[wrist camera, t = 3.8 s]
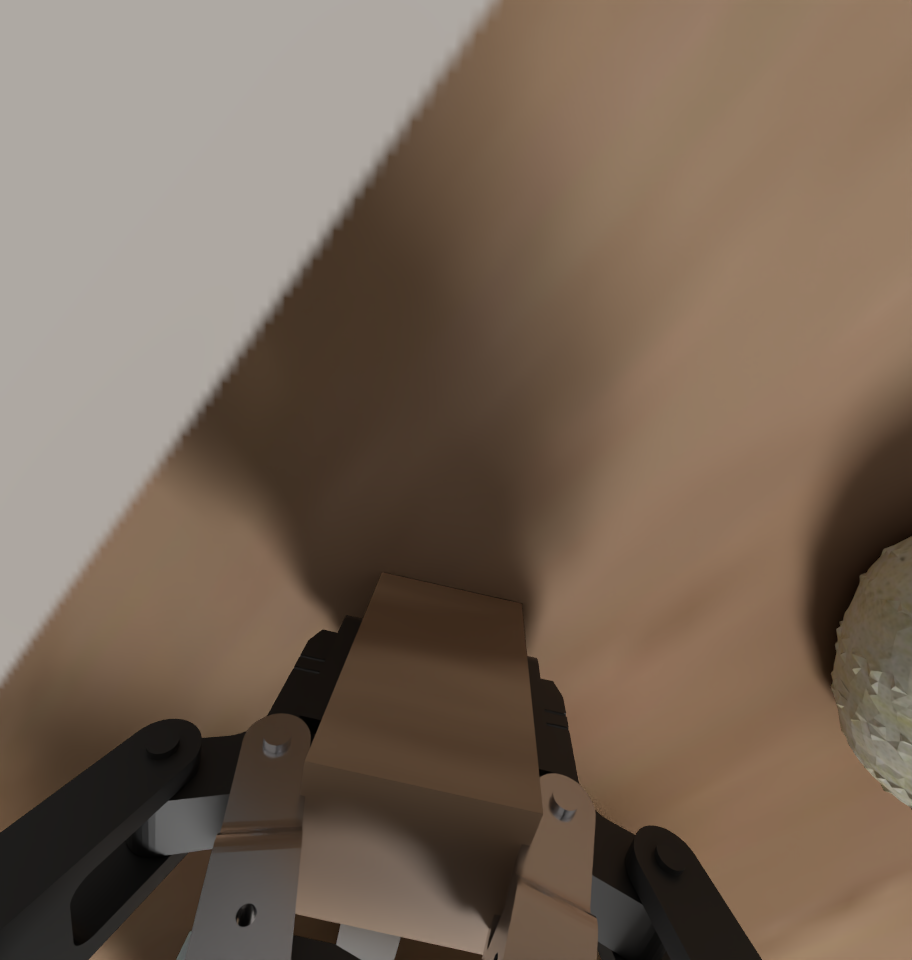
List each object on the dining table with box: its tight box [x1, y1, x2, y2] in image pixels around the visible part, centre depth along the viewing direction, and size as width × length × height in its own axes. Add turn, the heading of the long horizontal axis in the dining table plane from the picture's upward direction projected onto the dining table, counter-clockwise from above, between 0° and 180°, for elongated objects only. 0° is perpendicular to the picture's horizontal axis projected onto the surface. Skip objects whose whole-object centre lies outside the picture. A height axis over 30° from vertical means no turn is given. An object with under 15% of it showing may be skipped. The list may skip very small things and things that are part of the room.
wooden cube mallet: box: [295, 572, 543, 960], centre depth 14 cm, size 16×4×6 cm, turn 168°
